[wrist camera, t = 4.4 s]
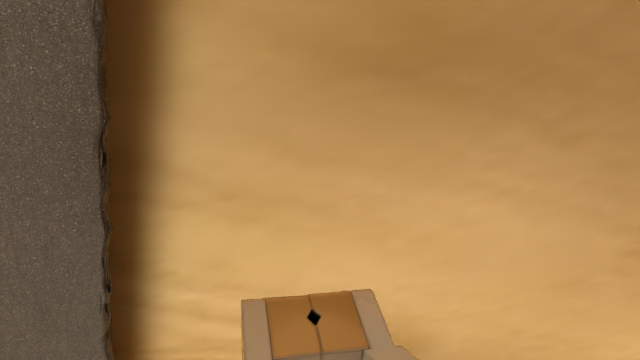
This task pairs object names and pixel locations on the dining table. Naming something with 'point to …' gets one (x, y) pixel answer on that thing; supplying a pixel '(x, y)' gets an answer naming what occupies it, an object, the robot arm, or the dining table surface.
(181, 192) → the dining table surface
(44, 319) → the serving tray
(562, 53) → the dining table surface
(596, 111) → the dining table surface
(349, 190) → the dining table surface
